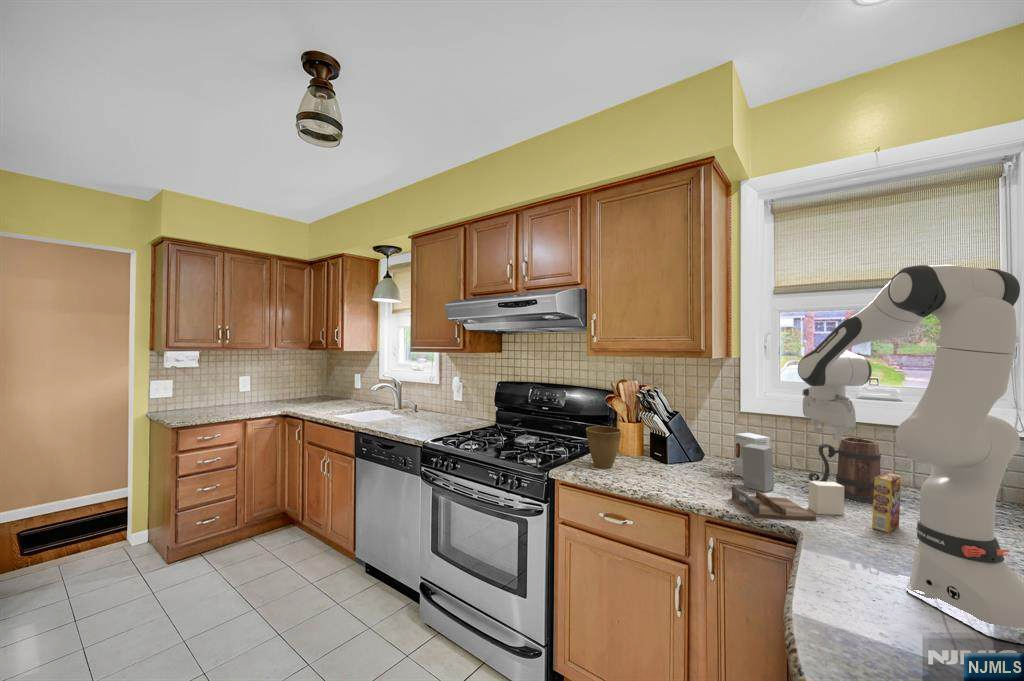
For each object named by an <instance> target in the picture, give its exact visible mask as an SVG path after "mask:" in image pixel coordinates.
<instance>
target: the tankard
mask: <svg viewBox="0 0 1024 681" xmlns="http://www.w3.org/2000/svg"><path fill="white" fill-rule="evenodd" d="M824 448H828V455H827V457H828V458H829V459H831V458H833V457H835V455H836V454H838V456H837V457H838V458H837V459H838V460H837V470H836V471H837V473H836V474H835V480H836V483H838V484H840V485H842V486H844V498H845V499H844V500H846V499H849V500H848V501H850V500H852V501H851V502H854V501H856V502H855V503H859V502H861V504H865V503H867V504H866V505H873V499H874V480H875V476H878V475H881V458H882V457H881V453H880V449H879V443H878V442H876V441H874V440H867V439H863V438H860V437H859V438H858V437H850V436H849V437H842V440H840V444H839V446H838V448H837V449H835V448H834V447H833V445H831V444H828V443H821V444H820V445H819V446H818V454H819V455H820V456H819V457H820V458H821V459H822V461H823V463H824V473H823V477H822V478H821V479H820V475H819V474H818V473H816V472H814V471H812V472H810V473H808V480H809V481H821V482H828V479H829V476H830V464H829V462H828V459H827V458H826V456H825V454H824ZM814 476H816V478H815V477H814ZM813 478H814V479H813Z"/></svg>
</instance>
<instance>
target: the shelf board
mask: <svg viewBox="0 0 1024 681" xmlns="http://www.w3.org/2000/svg"><path fill="white" fill-rule="evenodd" d="M731 500H733V501H734V502H735V503H737V505H738V506H740V507H741V508H743V509H744V510H745V511H746V512H747V513H749V514H750V515H752V516H753V517H754V518H759V519H776V520H777V519H779V520H799V521H800V520H801V521H817V516H816V515H815V514H813V513H811V512H810V511H808V510H806V509H805V508H803V507H801V505H799V504H797V503H795V502H794V501H792V500H791V499H789V498H787V497H777V496H776V497H774V496H768V495H766V494H764V492H763V491H759V490H755V496H754V495H753V496H752V495H748V494H747V493H745V491H743V490H741V489H740V488H739V487H737V485H732V486H731Z"/></svg>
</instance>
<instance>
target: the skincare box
mask: <svg viewBox="0 0 1024 681" xmlns="http://www.w3.org/2000/svg"><path fill="white" fill-rule="evenodd" d="M742 456H743V477H742V479H743V487H744V486H745V488H748V489H751V488H752V490H755V491H760V492H762V493H767V492H769V491H772V490H774V489H775V484H774V483H775V480H774V479H775V478H774V463H773V462H774V460H773V447H772V446H770V447H767V446H761V445H755V444H748V445H744V446H742Z"/></svg>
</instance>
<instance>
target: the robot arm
mask: <svg viewBox="0 0 1024 681" xmlns="http://www.w3.org/2000/svg"><path fill="white" fill-rule="evenodd" d="M1020 293H1021V287H1020V282H1019V281H1018V278H1016V276H1015V275H1013V274H1012V273H1010V272H1006V271H1004V270H1001V269H996V268H979V267H973V266H962V265H957V264H954V265H953V264H942V265H941V264H938V265H937V264H936V265H928V264H916V265H911V266H906V267H903V268H901V269H899V270H898V271H897V272H896V273H895V274H894V275H893V276H892V278H891V280H889V281H888V283H887V284H886V285H885V286H884V287H883V288H882V289H881V290H880V291H879V292H878V294H876V296H875V297H874V299H873V300H872V301H871V302H870V303H869V304H868V305H867V306H865V307H864V308H863V309H862V310H860V311H859V312H857V313H855V314H854V315H852V316H850V317H848V318H846V319H844V320H843V321H842V322H841V323H839V324H838V325H837V326H836V327H835V328H834V329H833V330H832V331H831V332H830V333H829V334H828V335H827V336H826V337H825V338H824V339H823V340H822V341H821V342H820V343H819V344H818V345H816V346H815V348H814V349H813V350H811V351H809V352H807V353H806V354H805V355H804V356H803V357H802V358H801V359H800V361H799V363H798V366H797V373H798V376H799V377H800V379H801V380H802V381H803V382H804V383H805V384H807V385H808V386H809V387H806V388H802V396H803V398H802V414H803V416H804V417H805V418H808V419H810V422H811V424H812V426H813V433H815V434H817V435H818V434H822V433H823V428H822V427H821V424H820V423H821V422H823V423H825V424H826V423H827V424H830V425H834V427H835V429H836V430H835V432H834V433H832V438H833V440H836V441H841V440H842V438H843V434H844V433H845V431H846V428H847V429H848V428H850V429H851V428H852V429H853V428H855V426H856V423H857V422H856V420H857V419H856V418H857V416H856V409H855V405H854V403H853V401H852V400H851V398H850V397H849V396H846V387H859V386H864V385H865V384H867V383H868V381H869V380H870V379H871V377H872V372H873V370H872V365H871V363H870V361H869V360H868V359H867V358H866V357H864V356H863V355H858V354H856V353H853V352H852V351H849V349H851V348H852V347H854V346H858V345H860V344H865V343H870V342H875V341H884V340H890V339H891V340H893V339H896V338H897V339H898V338H901V337H903V336H905V335H907V334H909V333H910V332H911V331H913V330H914V329H916V328H917V327H918V326H919V325H920V324H921V322H922V321H923V320H924V319H925V318H926V317H928V316H930V315H931V316H934V317H935V318H936V319H938V321H939V323H940V329H939V330H940V331H939V335H938V339H937V344H936V349H935V354H934V360H933V365H932V370H931V375H930V378H929V381H928V384H927V387H926V389H925V391H924V392H923V394H922V396H921V398H920V400H919V402H918V403H917V405H916V407H915V409H914V410H913V412H911V415H909V416H908V417H907V418H906V419H905V420H904V421H902V422H901V423H900V424H899V425H898V427H897V429H896V432H895V442H896V444H897V447H898V448H899V450H900V451H901V452H902V454H903V455H905V456H906V457H907V458H908V459H910V460H912V461H914V462H917V463H919V464H924V465H928V466H933V468H932V470H931V472H930V475H929V476H928V477H927V478H926V479H925V481H923V483H922V484H921V487H920V489H919V491H920V493H919V496H920V497H919V498H920V499H919V504H920V505H919V506H920V507H919V508H920V509H919V520H917V525H916V538H917V539H918V545H917V547H916V550H915V553H914V557H913V563H912V568H911V569H912V570H911V576H910V577H909V580H910V584H909V583H908V584H907V585H906V588H908V589H909V590H911V591H913V592H915V593H917V592H916V591H914V590H919V591H922V592H924V593H925V594H920V593H917V594H919V595H921V596H924V597H926V598H931V599H932V598H933V599H935V598H936V599H937V598H938V599H940V600H942V601H944V602H946V603H948V604H950V605H952V606H954V607H956V608H958V609H960V610H963V611H965V612H967V613H969V614H971V615H973V616H974V617H976V618H977V619H979V620H981V621H984V622H987V623H989V624H994V625H1000V626H1007V627H1013V628H1024V581H1022V579H1020V577H1019V576H1018V575H1017V574H1016V573H1015V572H1014V571H1013V570H1012V569H1011V568H1010V567H1009V566H1008V564H1006V563H1005V557H1006V556H1007V557H1008V556H1009V557H1010V554H1009V552H1010V551H1011V550H1009V549H1003V548H1001V546H1000V544H999V541H998V539H997V538H996V536H995V533H996V532H995V528H996V527H995V524H996V520H995V519H996V503H997V497H998V493H999V490H1000V487H1001V484H1002V482H1003V481H1002V480H1003V479H1004V475H1005V472H1006V469H1007V467H1008V464H1009V462H1010V460H1011V458H1013V456H1014V455H1015V454H1016V453H1017V452H1018V451H1019V449H1020V446H1021V439H1020V438H1021V437H1020V435H1019V433H1018V431H1017V430H1016V429H1015V427H1014V426H1013V425H1012V424H1011V423H1009V422H1007V421H1006V420H1004V419H1002V418H999V417H996V416H993V415H989V413H990V412H991V410H992V408H993V407H994V405H995V404H996V403H997V401H998V400H999V399H1001V398H1002V397H1003V396H1004V395H1005V394H1006V392H1007V390H1008V386H1009V382H1010V375H1011V371H1012V366H1013V361H1014V356H1015V354H1014V353H1015V350H1016V343H1017V317H1016V316H1017V314H1016V309H1015V308H1014V306H1015V304H1016V303H1017V301H1018V299H1019V297H1020Z"/></svg>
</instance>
